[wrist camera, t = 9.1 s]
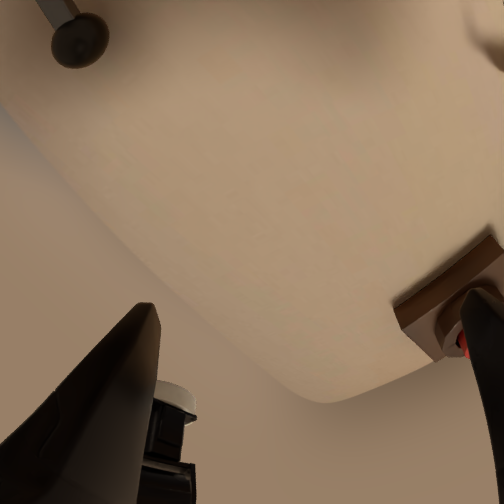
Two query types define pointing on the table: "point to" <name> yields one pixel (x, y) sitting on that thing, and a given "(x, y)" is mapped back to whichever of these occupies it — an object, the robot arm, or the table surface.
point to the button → (463, 343)
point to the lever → (75, 33)
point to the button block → (451, 300)
